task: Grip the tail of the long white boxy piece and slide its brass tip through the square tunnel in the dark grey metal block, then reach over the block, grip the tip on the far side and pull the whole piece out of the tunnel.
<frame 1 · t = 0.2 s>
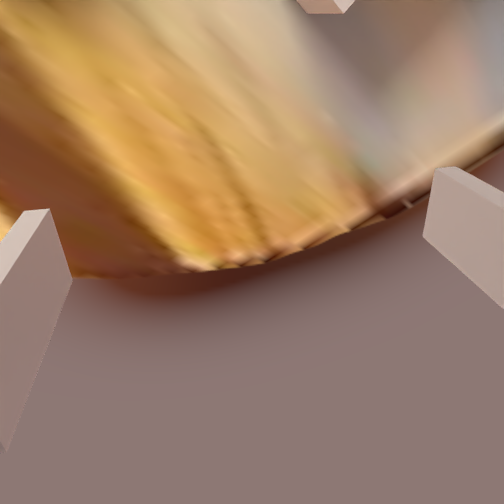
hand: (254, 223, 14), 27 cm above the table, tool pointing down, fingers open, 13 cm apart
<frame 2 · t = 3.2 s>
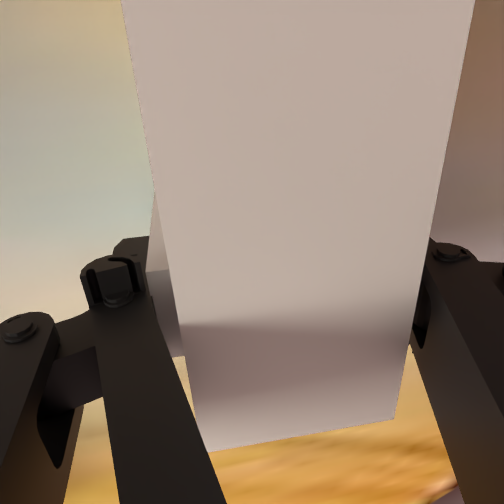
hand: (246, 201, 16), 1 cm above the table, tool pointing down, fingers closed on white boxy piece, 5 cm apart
when the fingers open (1 cm above the table, at t = 6.6 s): white boxy piece stays where it is, on the table.
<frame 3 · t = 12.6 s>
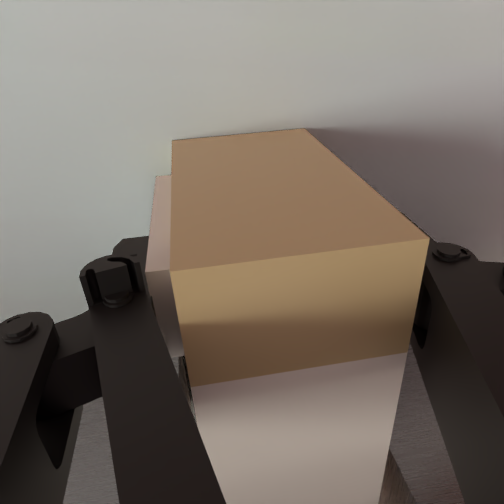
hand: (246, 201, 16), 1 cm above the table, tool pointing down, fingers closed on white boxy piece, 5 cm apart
white boxy piece: (253, 358, 21), on the table, touching gripper
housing: (253, 357, 21), on the table
when the fingers open (1 cm above the table, at t = 16.0 s): white boxy piece stays where it is, on the table.
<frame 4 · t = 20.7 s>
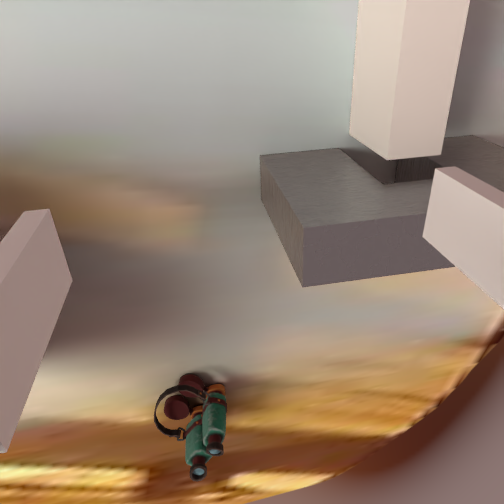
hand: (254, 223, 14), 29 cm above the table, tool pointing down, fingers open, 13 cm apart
white boxy piece: (384, 5, 38), on the table
binoculars: (188, 393, 59), on the table
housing: (367, 167, 45), on the table
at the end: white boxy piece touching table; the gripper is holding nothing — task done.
